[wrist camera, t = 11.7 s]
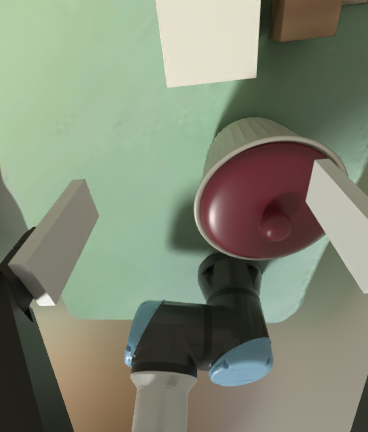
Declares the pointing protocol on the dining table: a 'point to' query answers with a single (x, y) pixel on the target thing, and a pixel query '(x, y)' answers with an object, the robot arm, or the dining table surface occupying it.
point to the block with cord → (305, 18)
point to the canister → (259, 190)
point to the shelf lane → (208, 40)
